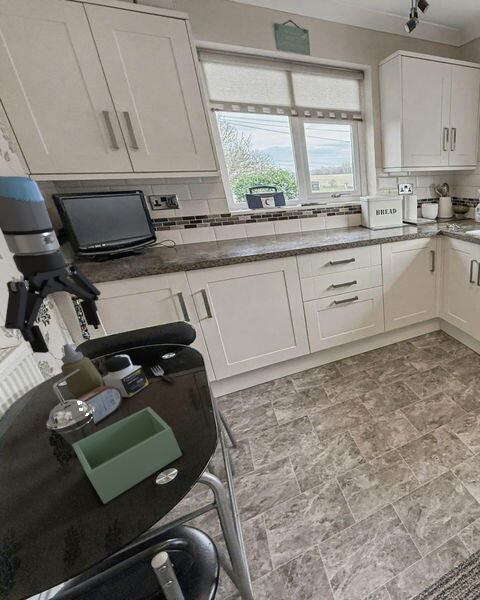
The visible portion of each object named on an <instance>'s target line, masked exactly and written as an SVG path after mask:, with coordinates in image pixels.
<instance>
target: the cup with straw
mask: <svg viewBox="0 0 480 600" xmlns="http://www.w3.org/2000/svg"><path fill="white" fill-rule="evenodd" d="M79 371H81V370H80V369H77V370H75V371H74V372H72V373H70V374H69V375H67V376H65V377H64V376H63V377H62V378H61V379H59V380H57V381H56V382H54V383H53V385H52V389H53V391H54V393H55V395H56V396H57V398H58V400H59V402H60V403H58V404H57V405H55V406H54V407H53V408H52V409H51V410H50V412H49V416H48V419H47V421H46V423H45V424H46V429H48V430H54V431H55V432H56V433H57V434H58V435H60V436H61V437H62V438H63V439H64V440H65V442H66V443H67V444H68V445H69V446H70V448H71V449H72V450H73V451H74V452H75V450H74V448H73V446H72V444H74V443H76V442H78V441H80V440H82V439H84V438H86V437H88V436H90V435H92V434H94V433H96V432H98V430H97V426H96V424H95V423H94V420H93V413H92V412H93V411H94V409H95V407H94V406H93V404H91V403H86V402H84V401H82V400H79V398H72V399H67V400H65V398H64V397H63V395H62V393H61V391H60V389H59V388H58V386H59V385H61V384H62V383H63V382H66V381H65V380H66V379H68V378H70V377H71V376H73V375H74V374H76V373H78V372H79Z"/></svg>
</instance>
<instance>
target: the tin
mask: <svg viewBox="0 0 480 600" xmlns="http://www.w3.org/2000/svg"><path fill="white" fill-rule="evenodd" d="M78 399H79V400H82V401H84V402H86V403H91V404H93V406H94V407H95V409H94V411H93V412H92V413H93V420H94V423H95V425H96V424H99V422H101V421H102V420H104V419H105V418H107V417H108V416H110V415H111V414H113V413H115V412H116V411H117V410H118V409H119V408H120V406H121V404H122V402H123V397H122V393H121V391H120V389H118V388H116V387H112V386H107V385H105V384H104V385H103V386H100V387H98V388H96V389H95V390H93V391H91V392H89V393H87V394H86V395H84V396H82V397H80V398H78Z"/></svg>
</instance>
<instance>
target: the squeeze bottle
mask: <svg viewBox="0 0 480 600" xmlns="http://www.w3.org/2000/svg"><path fill="white" fill-rule="evenodd" d="M62 347H63V353H64V355H63V356H62V357H61V362H62V365H61V366H60V369H61V373H62V375H63V378H64V377H65V376H67V375H69V374H70V373H72V372H74V371H75V370H77V369H80V370H81V371H79V372H78V373H76V374H74V375H73V376H71V377H70V378H68V379H66V380H65V381H64V382H65V383H66V386H67V389H68V392H69V393H70V394H72V395H73V396H74V397H75V398H76V399H79V398H80V397H82V396H84V395H86V394H87V393H89V392H91V391H93V390H95V389H96V388H98V387H100V386H104V381H103V379H102V378H103V377H102V375H101V374H100V372H99V370H98V369H97V368H96V367H95V365H94V364H93V361H91V359H90V357H86V356H84V355H83V353H82V351H76V350H75V349H74V348H73V347H72V346H71V345H70V344H69V343H66V344H63V345H62Z"/></svg>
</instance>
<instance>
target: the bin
mask: <svg viewBox="0 0 480 600" xmlns="http://www.w3.org/2000/svg"><path fill="white" fill-rule="evenodd" d="M72 446H73V448H74V450H75V451H74V450H73V451H74V452H75V454H76V456H77V458H78V460H79V462H80V464H81V467H82V468H83V470H84V472H85V474H86V476H87V478H88V480H89V481H90V483H91V485H92V487H93V488H94V490H95V491H96V494H97V495H98V497H99V498H100V500H101V502H102V503H103V505H105V504H107V503H109V502H110V501H112V500H113V499H115V498H117V497H119V496H120V495H121V494H123V493H125V492H126V491H128V490H129V489H131V488H133V487H134V486H135V485H137V484H139V483H141V482H142V481H143V480H146V479H147V478H148V477H150V476H151V475H153V474H155V473H157V472H158V471H160V470H161V469H163V468H164V467H166V466H167V465H169V464H170V463H172V462H173V461H175V460H177V459H179V458H180V457H181V456H183V453H182V451H181V449H180V446H179V444H178V441H177V439H176V436H175V434H174V432H173V430H172V427H171V426H170V425H168V424H167V423H166V421H164V420H163V419H162V417H160V416H159V414H157V413H156V411H154V410H153V409H152V407H150V406H147V407H145V408H143V409H141V410H139V411H137V412H135V413H132V414H130V415H129V416H127V417H125V418H123V419H121V420H118V421H116V422H115V423H113V424H110V425H108V426H106V427H104V428H103V429H101V430H97V432H96V433H94V434H92V435H90V436H88V437H86V438H84V439H82V440H80V441H78V442H76V443H74V444H72Z"/></svg>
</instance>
